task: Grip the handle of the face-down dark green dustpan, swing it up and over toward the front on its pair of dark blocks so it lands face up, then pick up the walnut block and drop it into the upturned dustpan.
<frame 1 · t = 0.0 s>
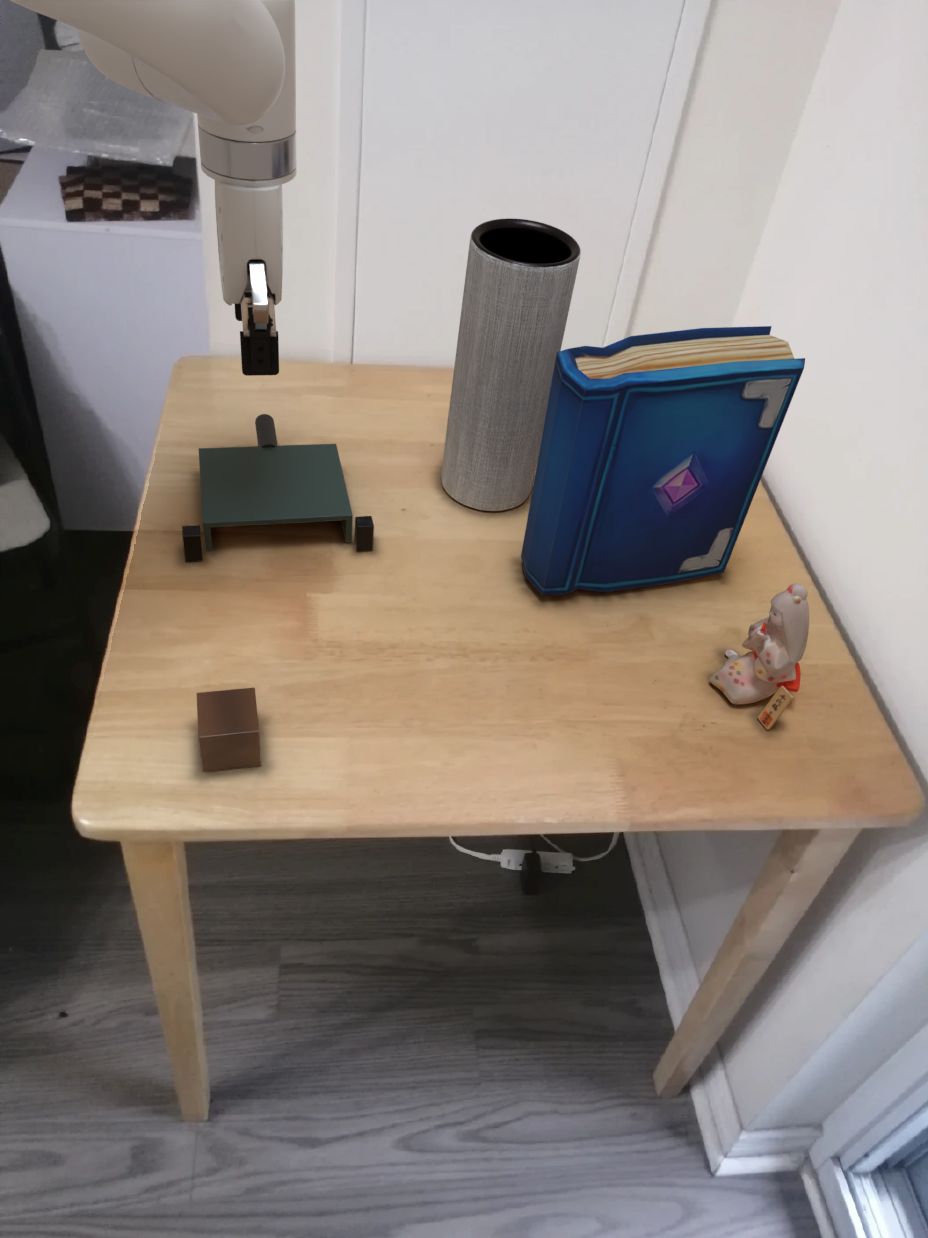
hand: (256, 345, 87), 16 cm above the table, tool pointing down, fingers open, 9 cm apart
planter: (485, 485, 103), on the table
block: (230, 747, 74), on the table
book: (615, 571, 95), on the table
figurine: (749, 691, 85), on the table
dustpan: (271, 476, 96), point 2 cm above the table, hinge at -0.1°
pair of dark blocks: (280, 551, 91), on the table
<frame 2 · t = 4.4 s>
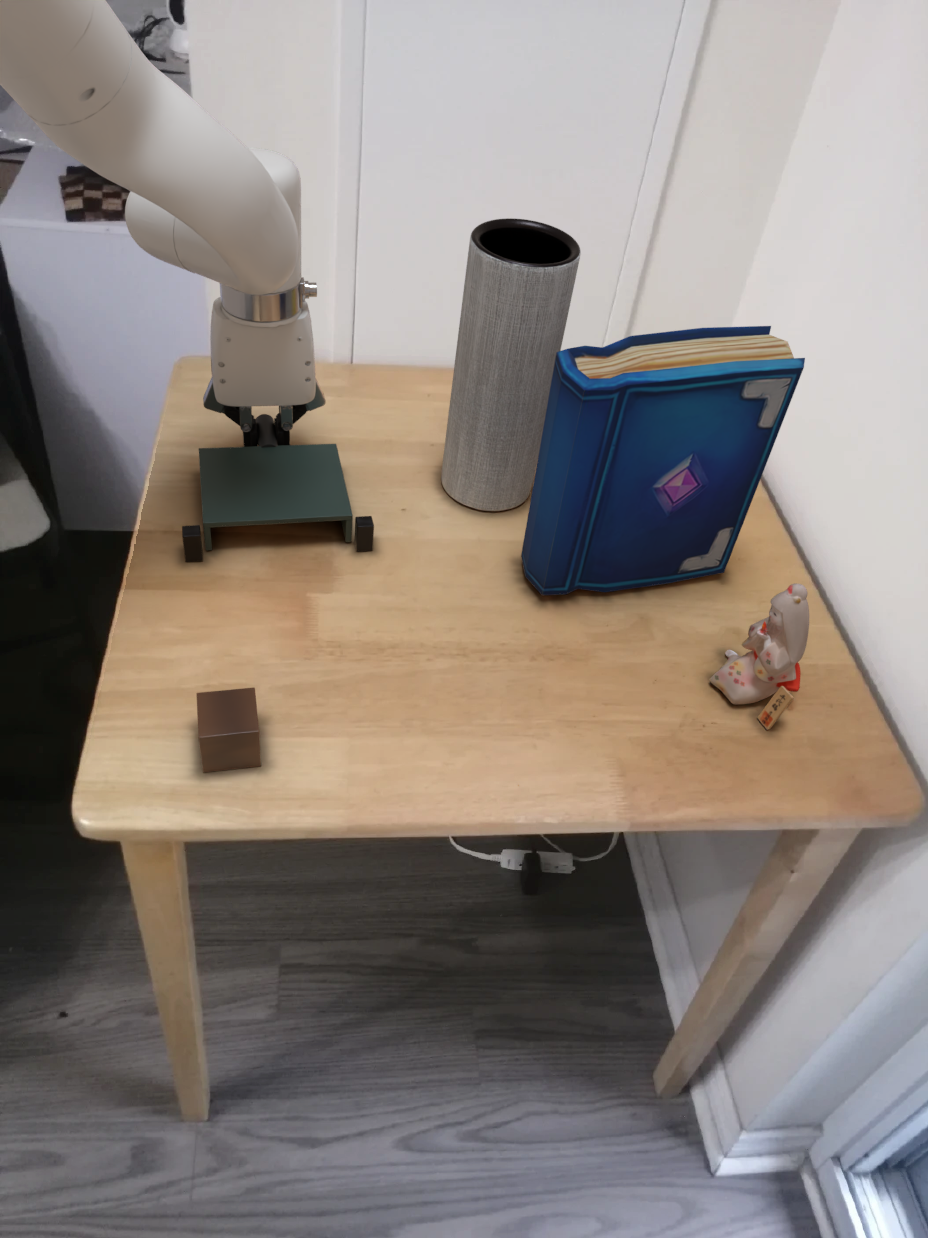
hand: (267, 454, 101), 0 cm above the table, tool pointing down, fingers closed on dustpan, 2 cm apart
dustpan: (271, 476, 96), point 2 cm above the table, hinge at -0.1°, touching gripper
everything else where it was.
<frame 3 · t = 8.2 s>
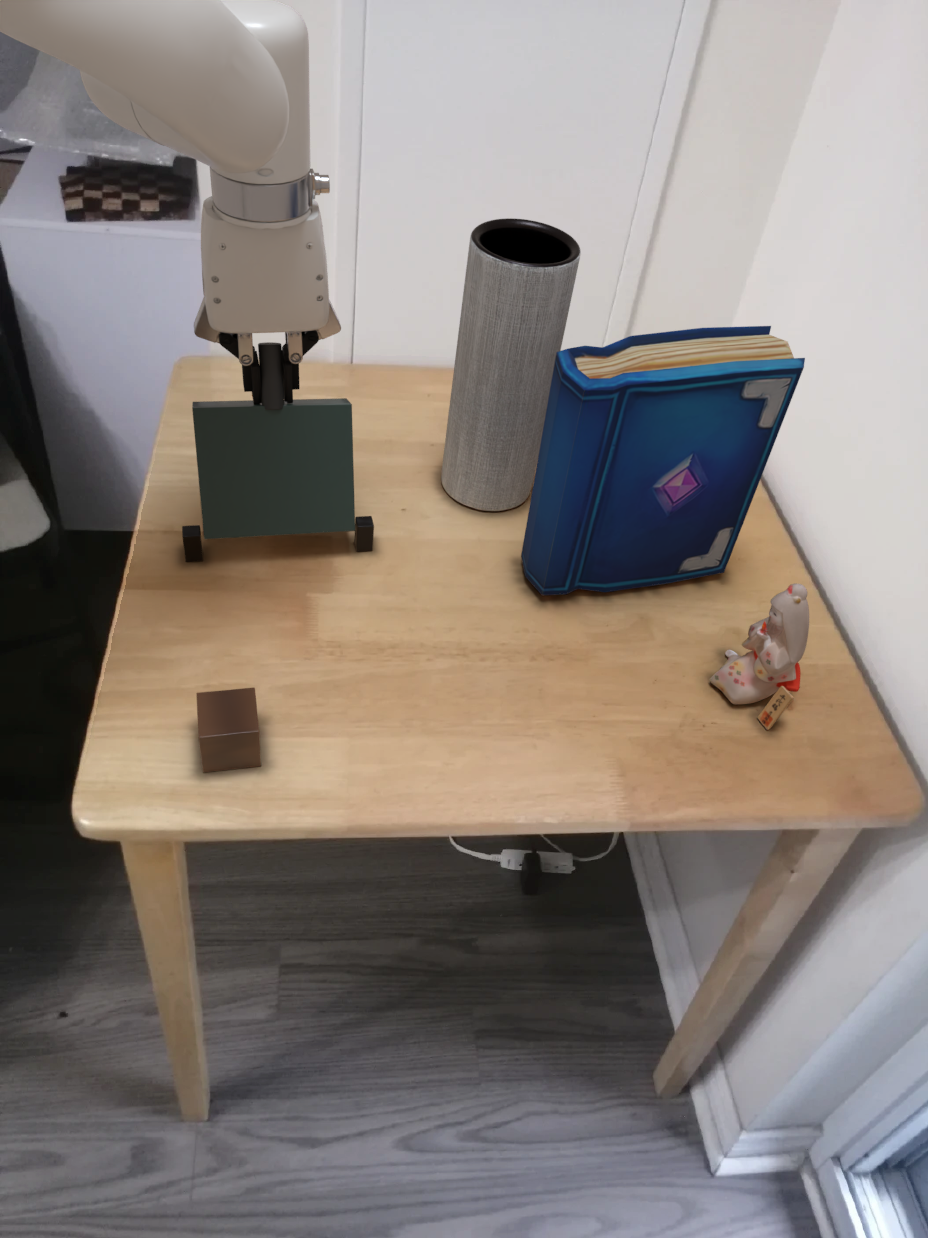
hand: (271, 394, 85), 14 cm above the table, tool pointing down, fingers closed on dustpan, 2 cm apart
dustpan: (274, 440, 86), point 10 cm above the table, hinge at 66.6°, touching gripper
everything else where it was.
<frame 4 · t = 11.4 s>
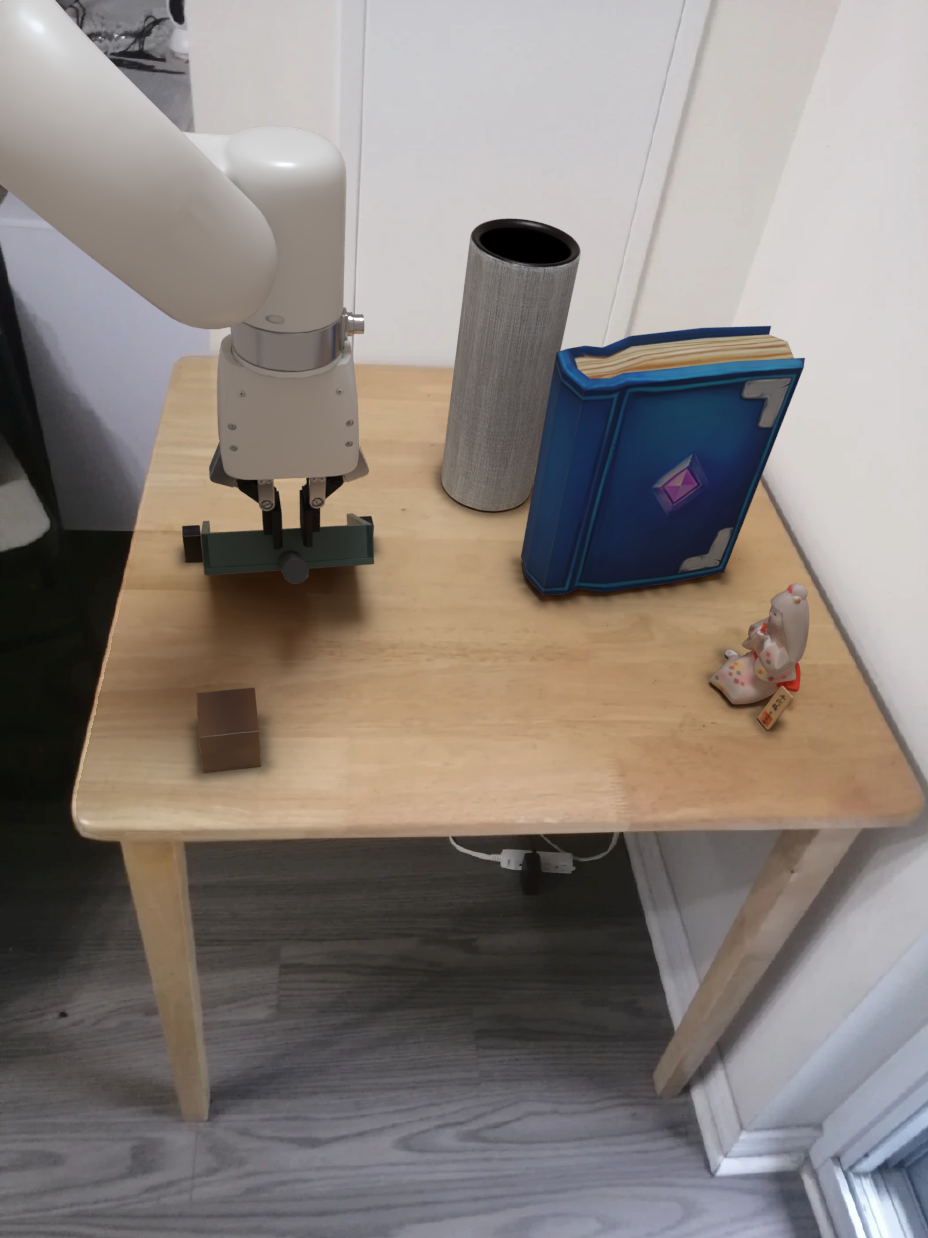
hand: (291, 536, 77), 11 cm above the table, tool pointing down, fingers closed on dustpan
dustpan: (287, 547, 81), point 7 cm above the table, hinge at 145.7°, touching gripper
everything else where it was.
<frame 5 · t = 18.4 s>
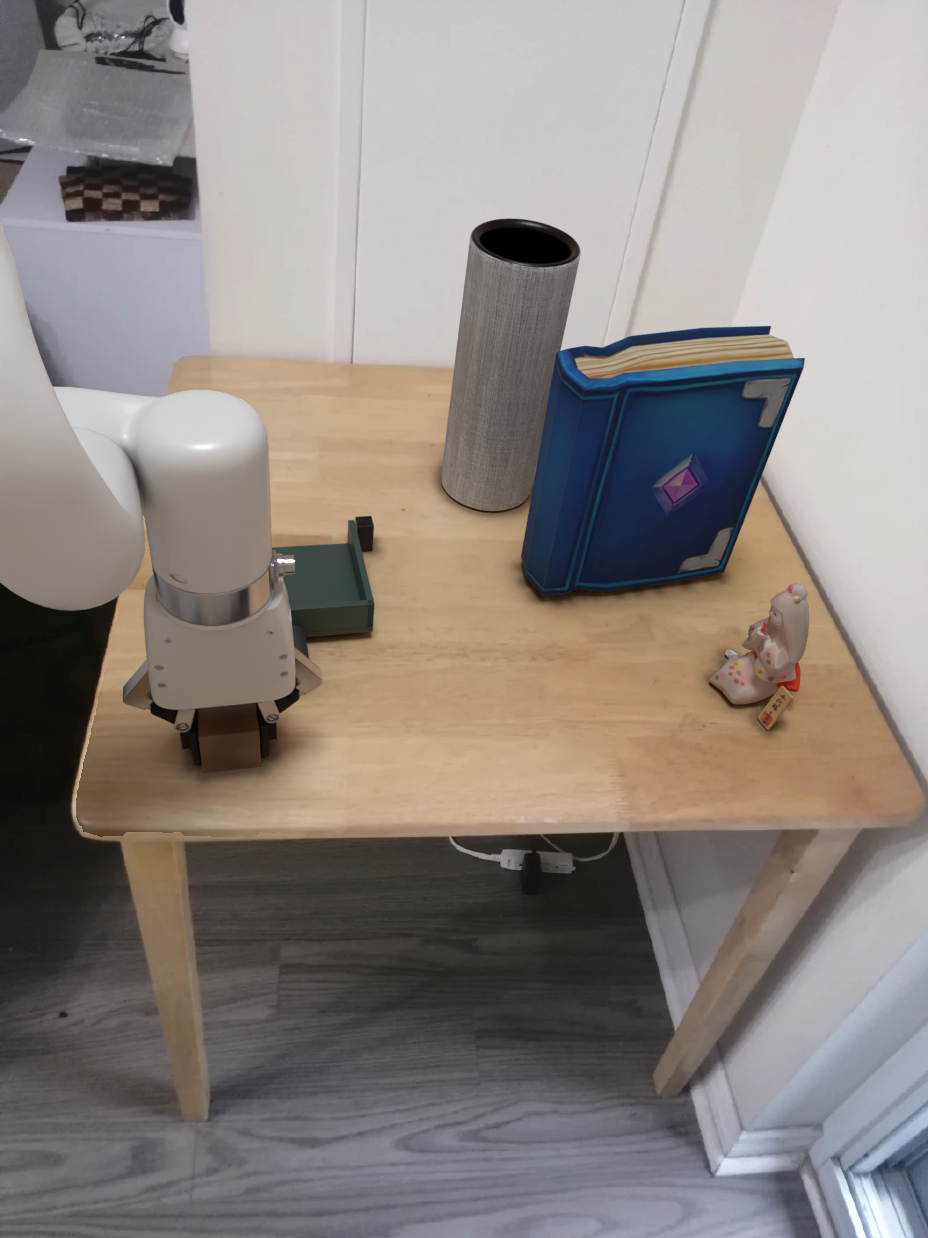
hand: (230, 744, 74), 0 cm above the table, tool pointing down, fingers closed on block, 4 cm apart
block: (230, 747, 74), on the table, touching gripper
dustpan: (289, 600, 83), point 2 cm above the table, hinge at 178.1°
everything else where it was.
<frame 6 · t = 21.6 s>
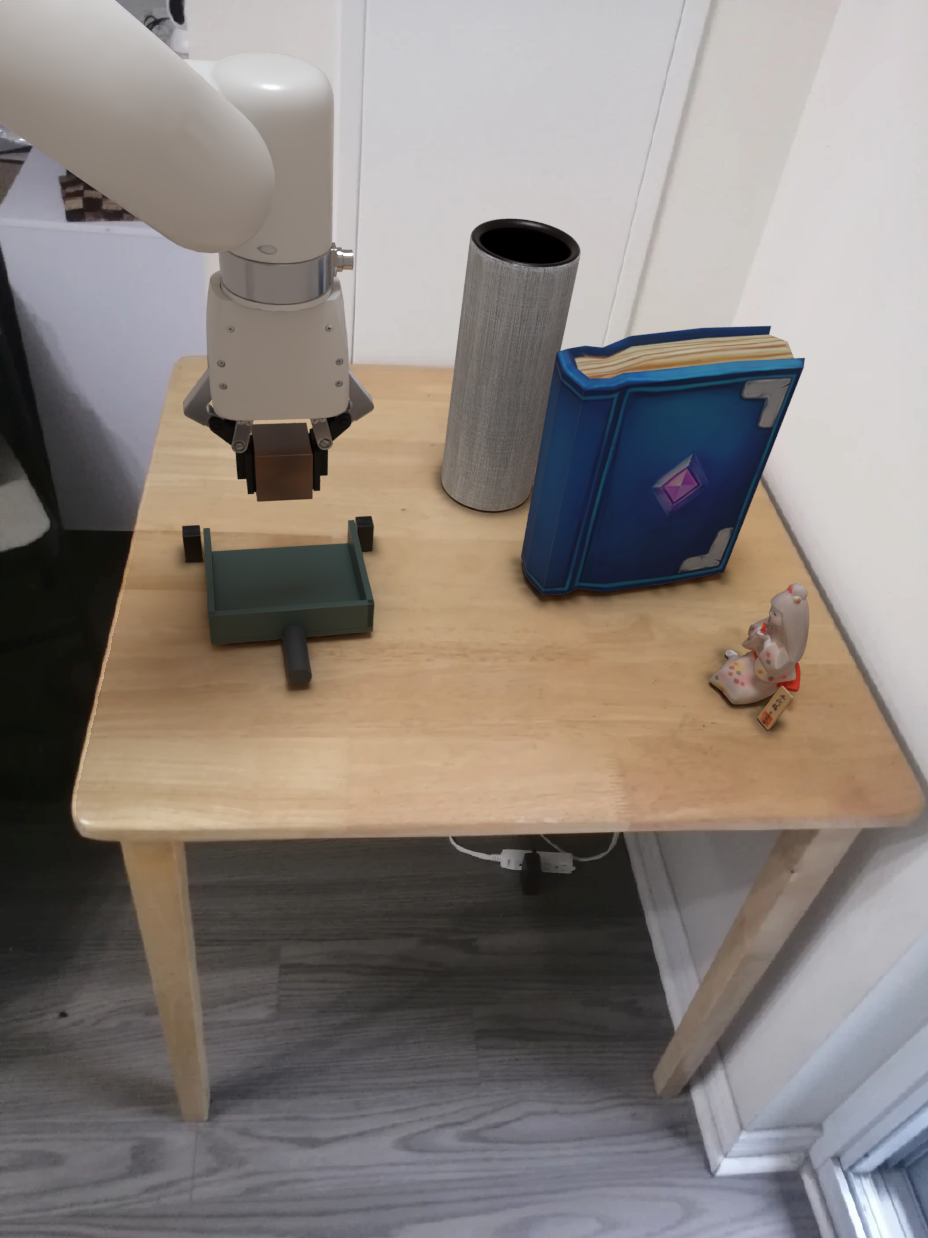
hand: (282, 480, 76), 14 cm above the table, tool pointing down, fingers closed on block, 4 cm apart
block: (282, 483, 77), point 14 cm above the table, touching gripper
everything else where it was.
when the fingers open (1 cm above the table, at t = 24.9 s): block stays where it is, resting on dustpan.
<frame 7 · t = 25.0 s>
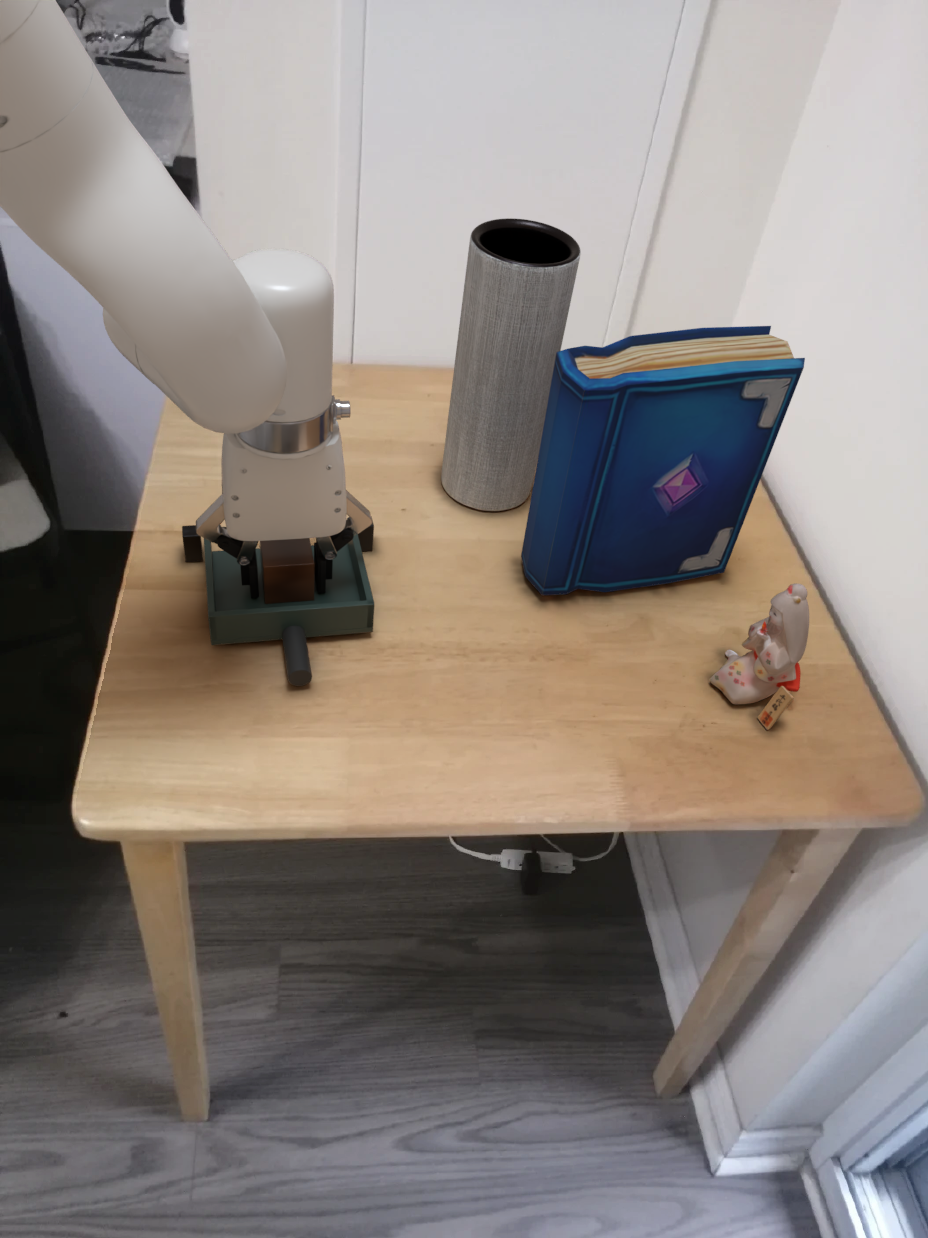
hand: (286, 583, 86), 1 cm above the table, tool pointing down, fingers open, 5 cm apart
block: (287, 586, 86), point 1 cm above the table, touching dustpan
dustpan: (289, 600, 83), point 2 cm above the table, hinge at 178.3°, touching block
everything else where it was.
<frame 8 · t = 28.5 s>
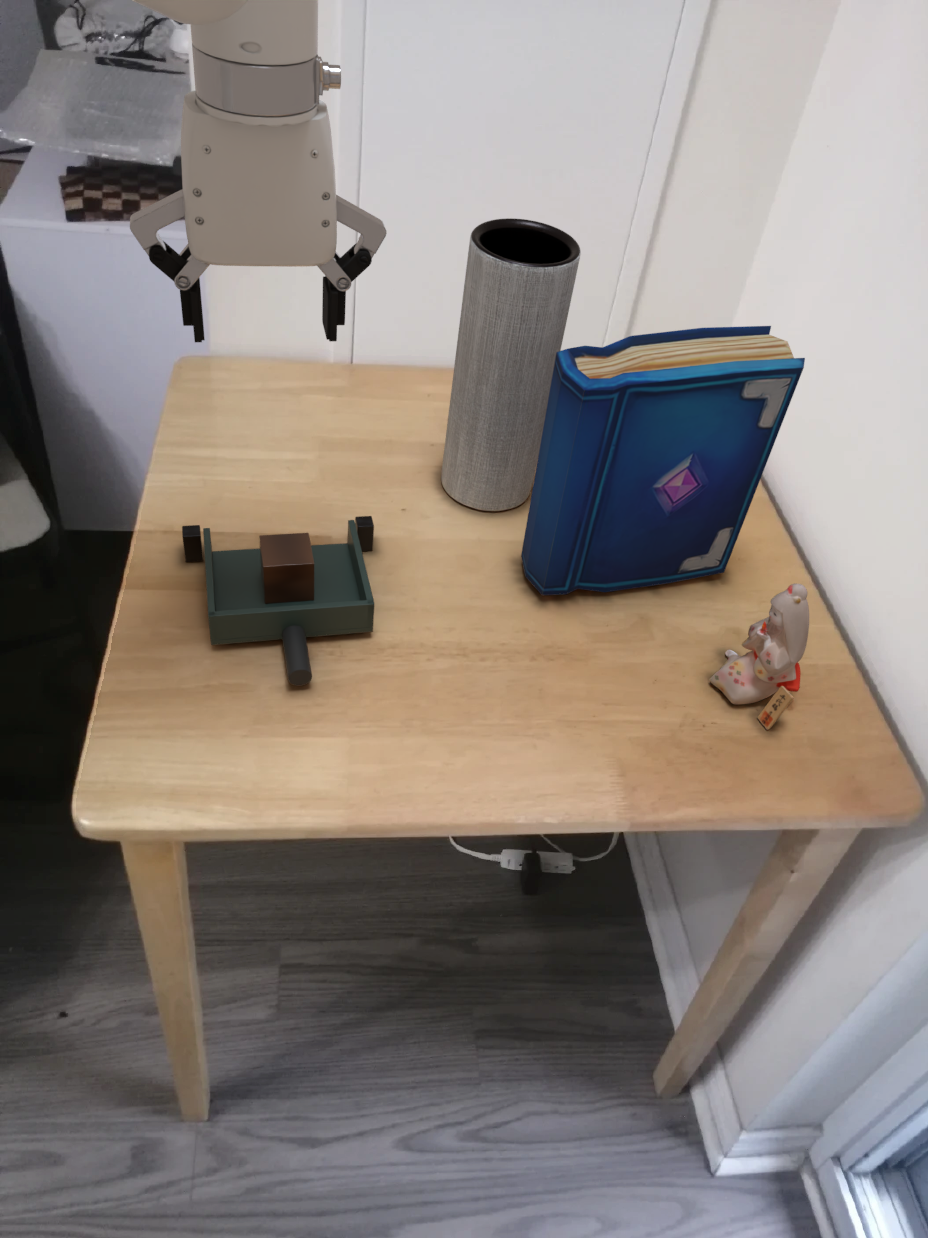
hand: (265, 332, 70), 25 cm above the table, tool pointing down, fingers open, 9 cm apart
nothing on the table moved.
at the end: dustpan at +178° (first picture: +0°); block inside the target area on the dustpan (0.2 cm from its centre), point -2.8 cm above the dustpan's base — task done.
